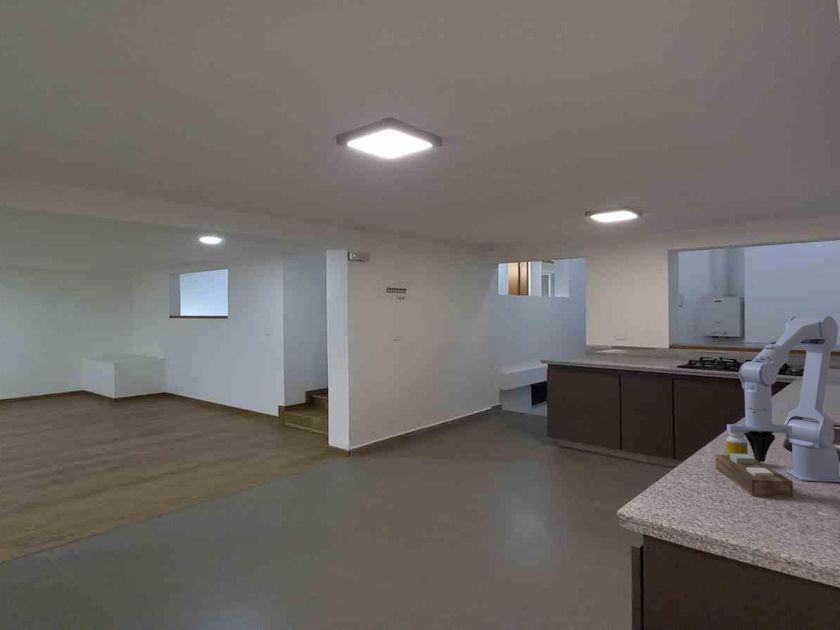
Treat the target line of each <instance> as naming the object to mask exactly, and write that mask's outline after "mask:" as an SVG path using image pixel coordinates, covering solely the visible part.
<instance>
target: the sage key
mask: <svg viewBox="0 0 840 630" xmlns="http://www.w3.org/2000/svg"><path fill="white" fill-rule="evenodd" d="M730 460H731V461H733V462H734V463H736V464H755V457H754V456H752V455H749V453H748V454H730Z"/></svg>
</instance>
